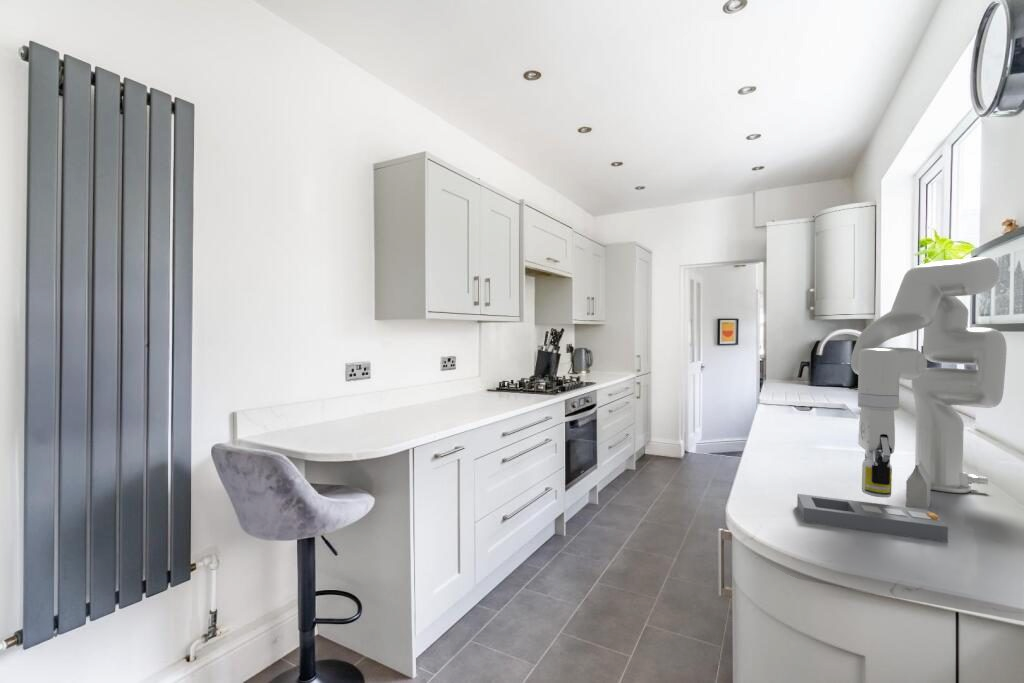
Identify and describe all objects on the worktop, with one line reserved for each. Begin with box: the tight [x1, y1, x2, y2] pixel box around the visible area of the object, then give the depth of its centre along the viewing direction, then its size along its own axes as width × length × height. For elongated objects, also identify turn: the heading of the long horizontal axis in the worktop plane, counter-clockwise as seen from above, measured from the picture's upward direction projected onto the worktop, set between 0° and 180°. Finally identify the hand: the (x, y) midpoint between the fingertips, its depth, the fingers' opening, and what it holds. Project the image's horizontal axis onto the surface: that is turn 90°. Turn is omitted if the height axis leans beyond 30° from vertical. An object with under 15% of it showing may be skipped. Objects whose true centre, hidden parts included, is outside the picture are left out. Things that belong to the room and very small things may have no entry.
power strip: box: [796, 493, 949, 543], centre depth 101 cm, size 24×10×4 cm, turn 65°
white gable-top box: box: [905, 460, 932, 510], centre depth 112 cm, size 4×7×10 cm, turn 133°
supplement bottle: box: [861, 451, 893, 498], centre depth 109 cm, size 5×5×10 cm
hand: (876, 479), depth 109 cm, fingers closed on supplement bottle, 5 cm apart
